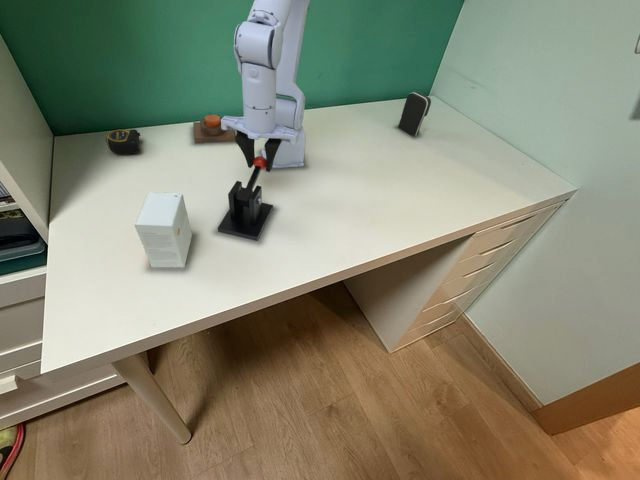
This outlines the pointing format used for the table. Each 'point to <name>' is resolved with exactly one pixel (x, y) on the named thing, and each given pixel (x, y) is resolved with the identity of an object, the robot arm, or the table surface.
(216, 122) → the button
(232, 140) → the button block
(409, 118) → the battery charger
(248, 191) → the lever
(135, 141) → the tape measure
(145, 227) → the small box
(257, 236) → the lever bracket
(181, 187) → the table surface
